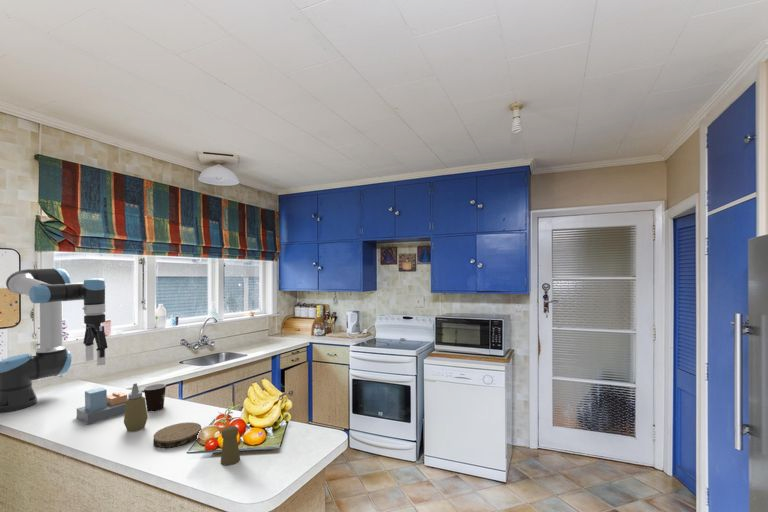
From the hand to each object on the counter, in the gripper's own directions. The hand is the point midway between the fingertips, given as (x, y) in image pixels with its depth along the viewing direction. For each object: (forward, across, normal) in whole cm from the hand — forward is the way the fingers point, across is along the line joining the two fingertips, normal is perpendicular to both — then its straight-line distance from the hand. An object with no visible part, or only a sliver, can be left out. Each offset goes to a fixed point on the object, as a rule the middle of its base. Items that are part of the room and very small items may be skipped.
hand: (95, 362), depth 171 cm
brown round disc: (+23, +54, +9) cm, 59 cm away
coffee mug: (+23, +14, +20) cm, 33 cm away
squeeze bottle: (+23, +31, +4) cm, 39 cm away
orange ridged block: (+19, +2, +7) cm, 20 cm away
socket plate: (+23, +2, +3) cm, 23 cm away
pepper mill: (+22, +86, +10) cm, 89 cm away
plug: (+23, +2, -1) cm, 23 cm away
